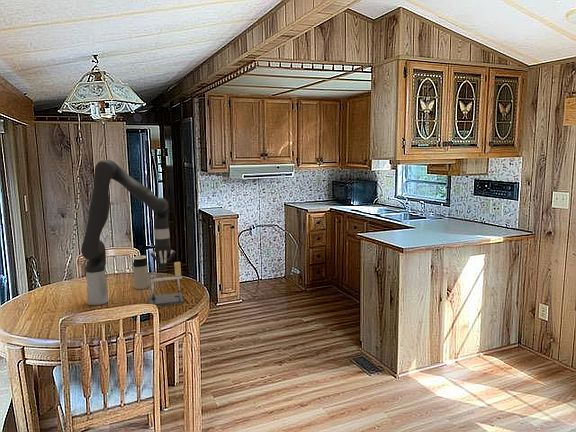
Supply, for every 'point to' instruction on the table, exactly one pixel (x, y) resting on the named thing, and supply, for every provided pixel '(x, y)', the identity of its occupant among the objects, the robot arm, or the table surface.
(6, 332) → the table surface
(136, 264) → the travel mug
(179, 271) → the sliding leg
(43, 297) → the table surface
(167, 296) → the bolt plate
